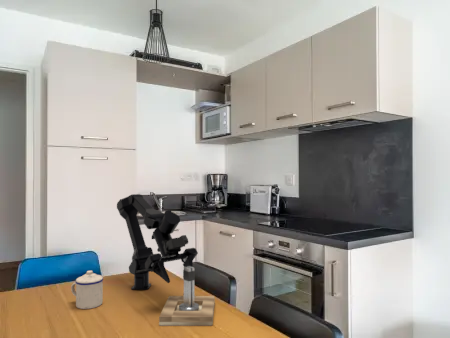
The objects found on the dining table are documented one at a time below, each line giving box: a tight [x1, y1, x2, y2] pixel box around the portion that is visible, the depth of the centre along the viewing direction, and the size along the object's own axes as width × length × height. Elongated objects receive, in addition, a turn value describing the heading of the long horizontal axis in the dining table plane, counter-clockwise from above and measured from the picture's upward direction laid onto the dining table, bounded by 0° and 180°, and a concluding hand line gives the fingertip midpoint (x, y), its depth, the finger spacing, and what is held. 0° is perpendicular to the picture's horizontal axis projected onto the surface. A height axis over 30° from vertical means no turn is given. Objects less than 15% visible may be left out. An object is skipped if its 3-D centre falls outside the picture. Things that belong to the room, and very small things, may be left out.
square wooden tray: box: [158, 295, 216, 327], centre depth 112 cm, size 18×16×2 cm
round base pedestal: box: [179, 266, 199, 311], centre depth 112 cm, size 6×6×14 cm
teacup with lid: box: [70, 270, 104, 310], centre depth 120 cm, size 12×9×12 cm
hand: (181, 279), depth 116 cm, fingers open, 9 cm apart
